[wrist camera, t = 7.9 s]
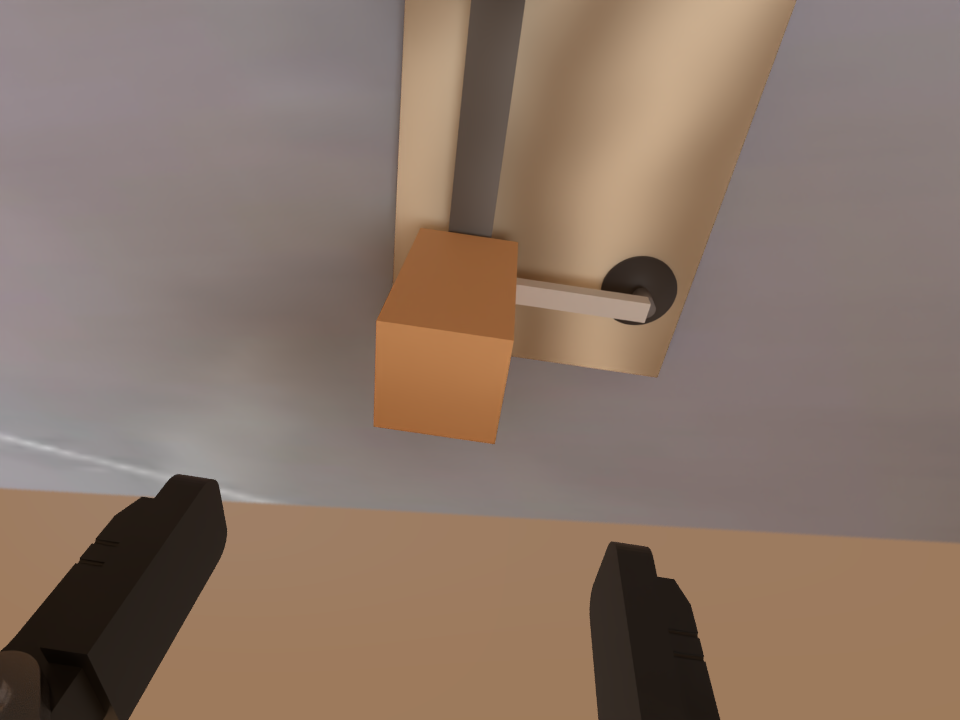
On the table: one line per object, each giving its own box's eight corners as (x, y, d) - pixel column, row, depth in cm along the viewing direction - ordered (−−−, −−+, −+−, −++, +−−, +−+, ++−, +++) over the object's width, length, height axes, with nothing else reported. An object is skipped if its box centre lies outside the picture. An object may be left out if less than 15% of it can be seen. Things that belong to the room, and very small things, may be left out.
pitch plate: (872, -255, 15) (1285, -560, 7) (652, 362, 26) (708, 529, 18) (427, -324, 15) (304, -716, 7) (395, 325, 26) (334, 475, 18)
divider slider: (663, 254, 21) (724, 371, 14) (636, 335, 23) (680, 471, 16) (424, 219, 21) (376, 320, 14) (418, 303, 23) (373, 426, 16)
